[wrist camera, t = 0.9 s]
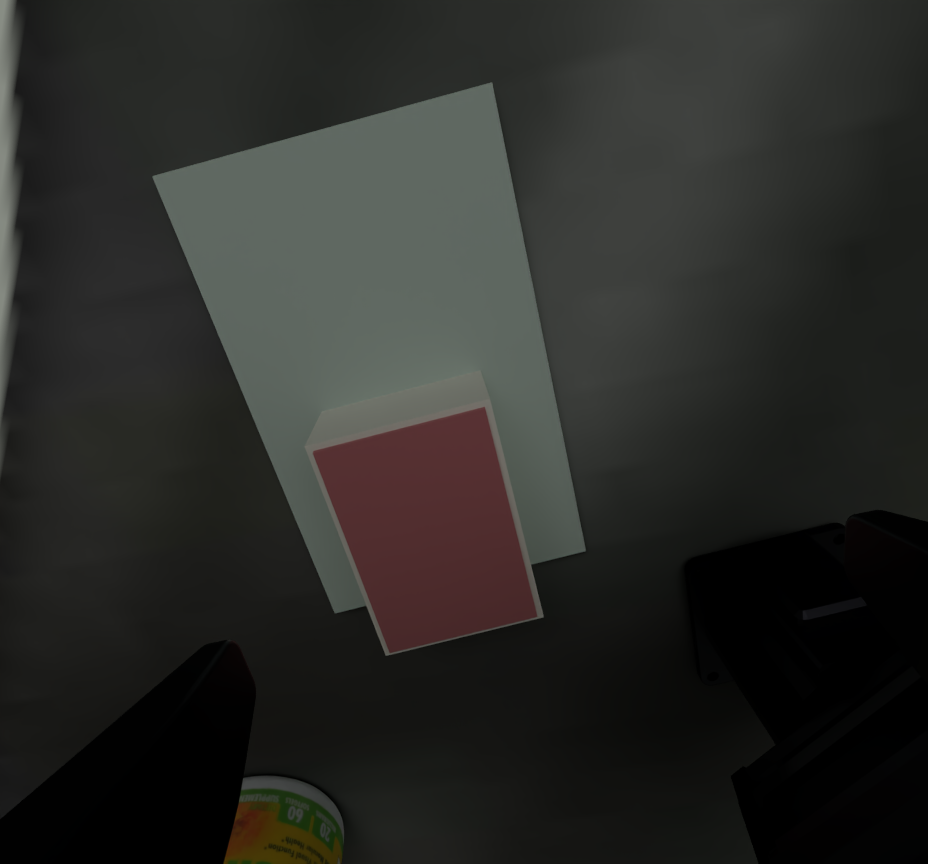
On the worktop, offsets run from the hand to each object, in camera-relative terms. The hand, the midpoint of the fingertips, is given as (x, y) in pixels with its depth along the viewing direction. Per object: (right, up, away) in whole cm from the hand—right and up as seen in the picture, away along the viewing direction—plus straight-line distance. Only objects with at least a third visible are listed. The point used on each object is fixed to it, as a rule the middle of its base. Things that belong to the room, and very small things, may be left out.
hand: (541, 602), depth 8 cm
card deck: (-2, 0, +12) cm, 13 cm away
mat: (-3, +4, +11) cm, 12 cm away
